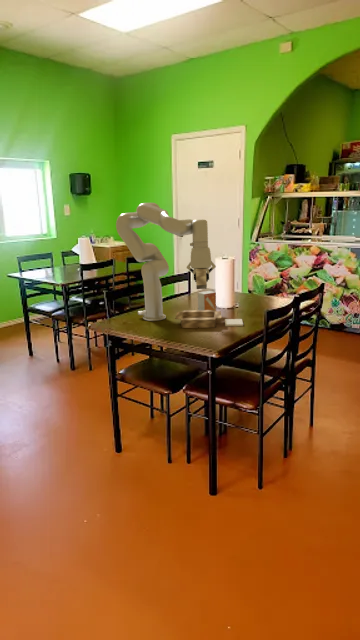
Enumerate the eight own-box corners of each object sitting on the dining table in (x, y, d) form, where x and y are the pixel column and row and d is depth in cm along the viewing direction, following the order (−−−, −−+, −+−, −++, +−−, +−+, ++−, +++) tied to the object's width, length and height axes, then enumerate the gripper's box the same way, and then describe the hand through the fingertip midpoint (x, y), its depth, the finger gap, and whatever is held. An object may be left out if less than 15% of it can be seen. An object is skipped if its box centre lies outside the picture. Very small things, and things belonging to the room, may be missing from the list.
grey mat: (225, 326, 221) (225, 324, 220) (224, 321, 230) (224, 319, 230) (243, 326, 220) (243, 324, 220) (241, 320, 230) (241, 318, 229)
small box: (204, 317, 239) (204, 294, 236) (197, 315, 244) (197, 292, 241) (216, 315, 243) (216, 292, 240) (209, 312, 248) (209, 290, 245)
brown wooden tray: (175, 329, 218) (174, 319, 217) (178, 319, 237) (177, 310, 235) (221, 328, 216) (221, 319, 215) (220, 318, 235) (220, 309, 234)
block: (196, 289, 219) (195, 269, 216) (197, 286, 224) (196, 267, 222) (206, 288, 218) (205, 269, 216) (206, 286, 224) (206, 267, 221)
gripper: (182, 246, 213) (184, 283, 218) (217, 245, 211) (218, 282, 216) (183, 245, 220) (185, 280, 225) (217, 243, 219) (218, 279, 223)
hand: (201, 281), depth 220 cm, fingers closed on block, 5 cm apart
